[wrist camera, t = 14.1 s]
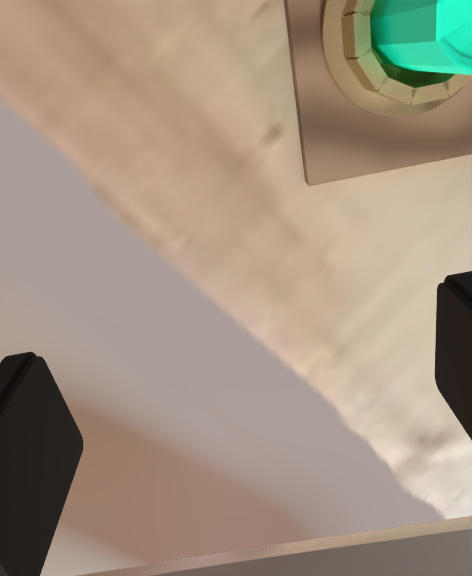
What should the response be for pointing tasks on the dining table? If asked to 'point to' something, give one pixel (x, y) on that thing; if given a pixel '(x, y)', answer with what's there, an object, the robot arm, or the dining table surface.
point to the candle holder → (377, 66)
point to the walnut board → (362, 116)
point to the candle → (423, 34)
